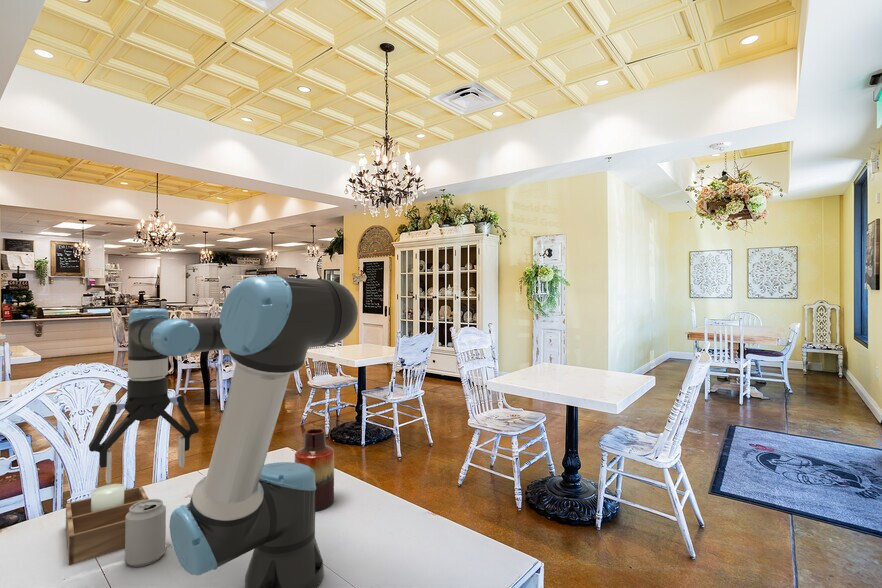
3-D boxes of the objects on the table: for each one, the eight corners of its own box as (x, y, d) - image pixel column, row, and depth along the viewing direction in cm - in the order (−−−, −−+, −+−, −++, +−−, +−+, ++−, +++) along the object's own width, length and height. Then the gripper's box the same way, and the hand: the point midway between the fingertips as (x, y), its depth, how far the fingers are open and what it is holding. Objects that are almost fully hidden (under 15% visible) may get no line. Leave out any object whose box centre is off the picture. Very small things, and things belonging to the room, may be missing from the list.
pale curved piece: (125, 526, 109) (126, 489, 109) (91, 535, 105) (92, 497, 105) (122, 516, 114) (122, 481, 114) (89, 524, 110) (90, 488, 110)
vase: (324, 513, 118) (324, 437, 118) (286, 510, 120) (287, 435, 120) (339, 496, 128) (340, 426, 129) (305, 493, 130) (305, 424, 130)
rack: (155, 543, 103) (155, 513, 103) (68, 570, 93) (69, 536, 93) (141, 511, 118) (141, 485, 119) (65, 532, 108) (66, 503, 108)
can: (145, 570, 93) (146, 513, 93) (115, 566, 94) (116, 510, 94) (173, 551, 100) (174, 498, 100) (145, 547, 102) (146, 495, 102)
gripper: (205, 369, 109) (203, 455, 109) (74, 381, 92) (72, 482, 92) (213, 373, 103) (212, 464, 103) (76, 387, 87) (74, 495, 86)
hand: (146, 473), depth 98 cm, fingers open, 13 cm apart
